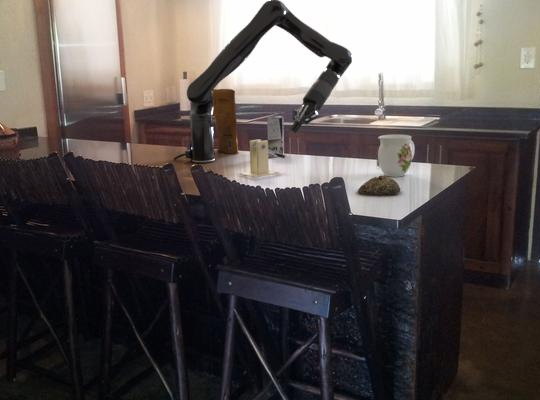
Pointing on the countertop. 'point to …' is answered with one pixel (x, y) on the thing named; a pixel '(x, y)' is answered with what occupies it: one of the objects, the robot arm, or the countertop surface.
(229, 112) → the pancake mix bag
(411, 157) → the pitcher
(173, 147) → the countertop surface
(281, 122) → the coffee box
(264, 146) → the bracket
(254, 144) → the lever
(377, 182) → the mossy brown rock
